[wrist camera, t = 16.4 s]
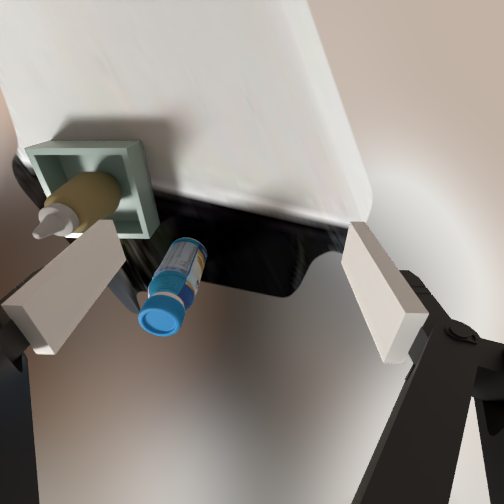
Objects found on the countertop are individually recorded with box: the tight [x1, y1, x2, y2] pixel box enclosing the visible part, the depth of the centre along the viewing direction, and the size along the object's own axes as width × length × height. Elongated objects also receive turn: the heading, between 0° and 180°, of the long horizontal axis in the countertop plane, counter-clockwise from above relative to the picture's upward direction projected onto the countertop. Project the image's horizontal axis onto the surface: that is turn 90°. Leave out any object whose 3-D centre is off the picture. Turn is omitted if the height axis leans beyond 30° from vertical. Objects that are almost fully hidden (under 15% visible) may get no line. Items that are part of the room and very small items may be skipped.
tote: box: [24, 140, 160, 239], centre depth 47 cm, size 16×16×6 cm
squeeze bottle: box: [32, 171, 122, 239], centre depth 41 cm, size 8×8×18 cm
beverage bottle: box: [138, 238, 207, 336], centre depth 49 cm, size 8×8×20 cm
